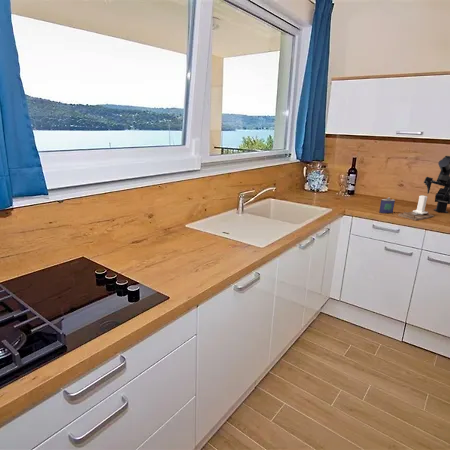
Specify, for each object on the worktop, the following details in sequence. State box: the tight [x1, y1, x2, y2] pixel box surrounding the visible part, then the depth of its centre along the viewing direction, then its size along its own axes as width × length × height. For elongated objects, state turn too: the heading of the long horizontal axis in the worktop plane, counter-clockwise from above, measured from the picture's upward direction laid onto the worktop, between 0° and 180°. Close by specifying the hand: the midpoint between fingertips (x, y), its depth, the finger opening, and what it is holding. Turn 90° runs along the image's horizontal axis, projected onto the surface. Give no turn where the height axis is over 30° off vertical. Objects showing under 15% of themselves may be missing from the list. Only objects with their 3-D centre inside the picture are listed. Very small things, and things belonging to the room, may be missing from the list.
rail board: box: [397, 210, 435, 221], centre depth 214 cm, size 20×12×3 cm, turn 121°
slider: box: [412, 195, 429, 214], centre depth 214 cm, size 6×6×11 cm
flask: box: [378, 196, 396, 215], centre depth 219 cm, size 9×3×11 cm, turn 95°
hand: (435, 196), depth 214 cm, fingers open, 9 cm apart
